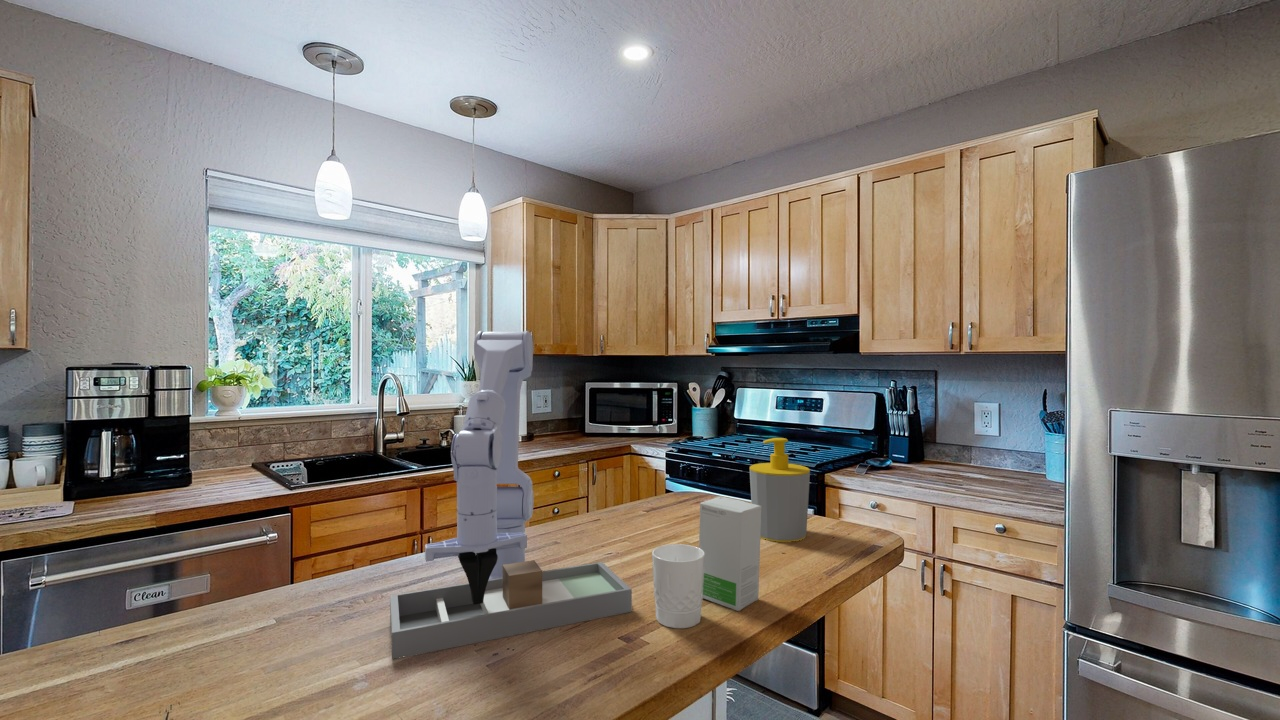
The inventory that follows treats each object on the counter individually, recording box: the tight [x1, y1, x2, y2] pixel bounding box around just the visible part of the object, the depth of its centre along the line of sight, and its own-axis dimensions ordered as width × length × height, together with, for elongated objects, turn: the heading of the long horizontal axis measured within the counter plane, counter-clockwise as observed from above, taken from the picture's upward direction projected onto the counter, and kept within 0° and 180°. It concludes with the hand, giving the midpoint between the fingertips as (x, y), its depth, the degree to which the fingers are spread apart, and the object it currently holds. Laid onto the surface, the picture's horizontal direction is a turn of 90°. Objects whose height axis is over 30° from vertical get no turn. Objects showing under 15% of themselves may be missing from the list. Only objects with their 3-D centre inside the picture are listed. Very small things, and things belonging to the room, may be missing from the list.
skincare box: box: [698, 496, 761, 612], centre depth 94 cm, size 8×7×16 cm
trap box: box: [389, 561, 633, 660], centre depth 88 cm, size 13×34×4 cm, turn 114°
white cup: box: [651, 543, 705, 629], centre depth 87 cm, size 8×8×10 cm
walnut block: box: [503, 559, 543, 610], centre depth 89 cm, size 5×5×5 cm
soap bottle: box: [749, 437, 811, 543], centre depth 128 cm, size 13×13×21 cm
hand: (477, 601), depth 86 cm, fingers closed
